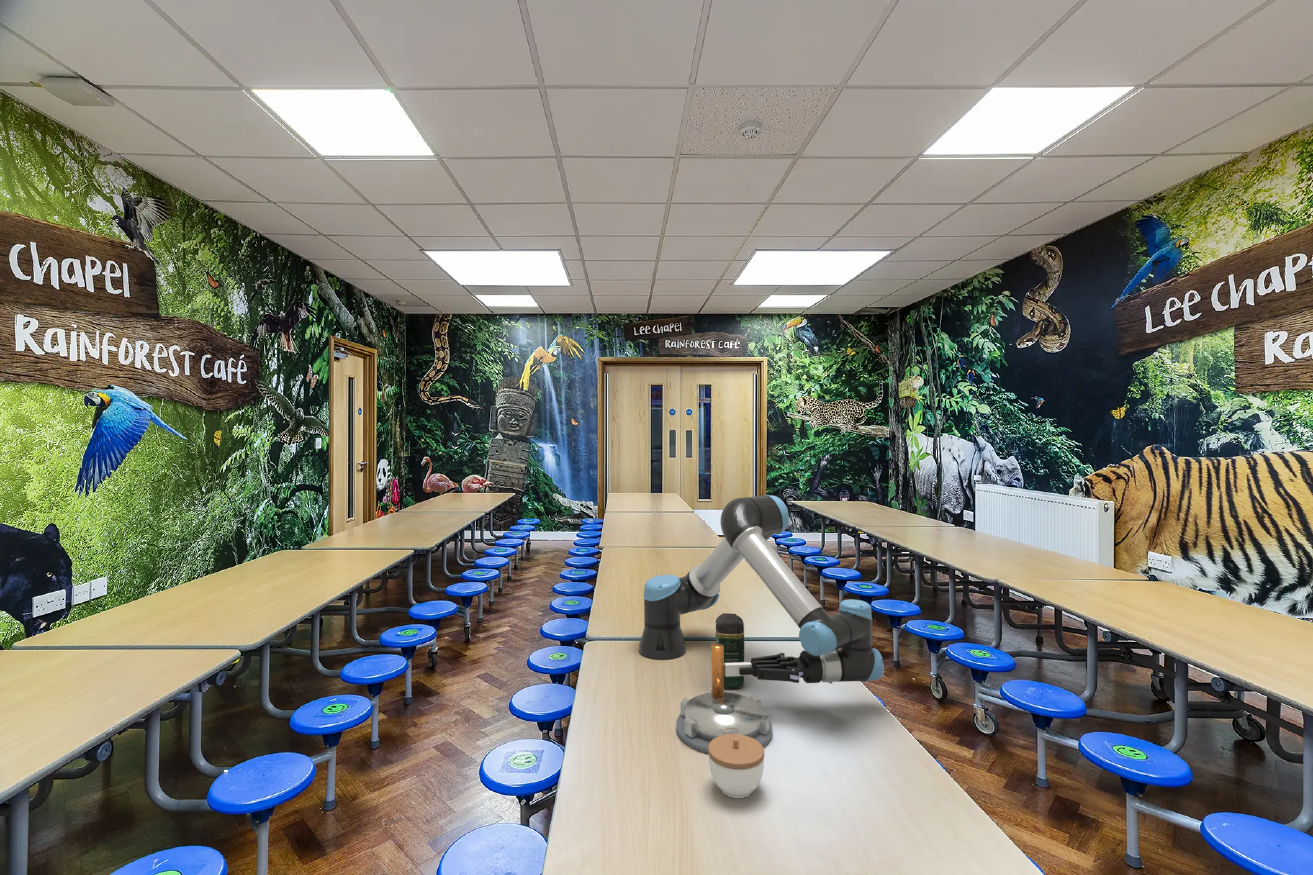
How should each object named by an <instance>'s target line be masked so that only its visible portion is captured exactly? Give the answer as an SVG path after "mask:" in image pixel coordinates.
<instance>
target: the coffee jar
mask: <svg viewBox="0 0 1313 875" xmlns="http://www.w3.org/2000/svg"><path fill="white" fill-rule="evenodd" d="M715 644H722V645H723V646H724V663H740V662H745V625H744V620H743V618H742V617H740V616H739V615H737V614H736V613H726V612H725V613H724V612H723V613H721V614H720V615H718V616H717V617H716V618H715ZM744 686H745V676H725V664H724V689H727V690H736V689H740V688H743V687H744Z"/></svg>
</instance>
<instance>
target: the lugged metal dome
mask: <svg viewBox="0 0 1313 875" xmlns="http://www.w3.org/2000/svg"><path fill="white" fill-rule="evenodd" d="M710 649H711V651H710V652H711V656H710V658H711V660H710V661H711V663H710V664H711V690H710V692H706V693H702V694H699V695H696V696H694V697H692V698H684V699H682V701H680V703H679V704H680V706H679V707H680V714H681V716H685V720H684V730H685V734H687V735H688V736H689V737H691V738H693V737H696V736H698V737H700V738H703V739H705V740H709V741H712V740H713V739H714V738H716V737H718V736H721V735H727V734H739V735H745V736H748V737H751V738H754V737H756V736H757V735H758V734H760V733H761V734H765V735H767V733H768V731H769V720H770V716H769V715H765V714H764V710H763V707H762V706H761V699H760V698H758V697H756V696H754V695H751V696H747V695H742V694H739V693H733V692H725V688H724V646H723V645H722V644H716V643H712V644H711V645H710ZM763 714H764V715H763Z"/></svg>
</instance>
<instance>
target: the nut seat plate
mask: <svg viewBox="0 0 1313 875" xmlns="http://www.w3.org/2000/svg"><path fill="white" fill-rule="evenodd" d="M763 715H765V714H764V713H763ZM684 720H685V716H681V713H680V714H679V715H678V717H677V719H676V733H677V734H676V735H677V736H678V738H679V739H680V741H681V742H682V743H684V745H686V746H688V747H689V748H691V749H693V750H695V751H697V752H701V753H702V754H703V753H704V754H707V755H709V754H708V745H709V743H710V742H711V741H709V740H705V739H703V738H700V737H698V736H696V737H693V738H691V737H689V736H688V735H687V734H685V730H684ZM753 739H755V740H757V741H758V742H759V743H760V744H761V745H762V746H763V748H764V749H766V747H767V746H768V745H769V744H770V743H771V741H772V739H773V724H772V722H771V720H770V719H769V731H768V733H767V735H765V734H761V733H760V734H758V735H757V736H756V737H754V738H753Z"/></svg>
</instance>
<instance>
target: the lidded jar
mask: <svg viewBox="0 0 1313 875" xmlns="http://www.w3.org/2000/svg"><path fill="white" fill-rule="evenodd" d="M707 755H708V763H709V770H710V775H711V777H712V779H713V782H714V783H715V785H716V786H717V787H718V788H719V789H720V791H721V790H722V791H721V792H722V793H723V794H724V795H725V794H726V795H725V796H727V795H728V796H727V797H729V798H731V797H733V798H732V799H745V798H747V797H749V796H750V794H752V793H753V792H754V791H755V790H756V789H757V788H758V786H760V783H761V780H762V778H763V774H764V768H765V767H764V766H765V765H764V763H765V762H764V761H765V748H763V746H762V745H761V744H760V743H759V742H758V741H757V740H755V739H753V738H751V737H748V736H745V735H739V734H727V735H721V736H718V737H716V738H714V739H713V740H712V741H711V742H710V743H709V745H708V754H707ZM744 797H745V798H744Z"/></svg>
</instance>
